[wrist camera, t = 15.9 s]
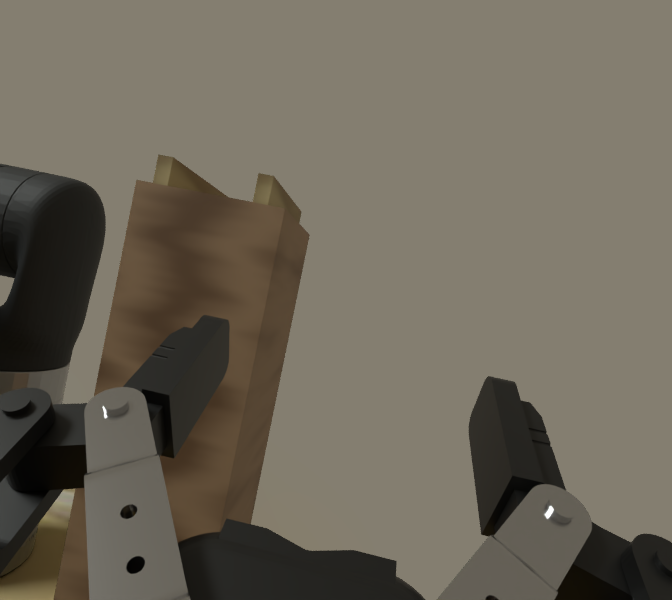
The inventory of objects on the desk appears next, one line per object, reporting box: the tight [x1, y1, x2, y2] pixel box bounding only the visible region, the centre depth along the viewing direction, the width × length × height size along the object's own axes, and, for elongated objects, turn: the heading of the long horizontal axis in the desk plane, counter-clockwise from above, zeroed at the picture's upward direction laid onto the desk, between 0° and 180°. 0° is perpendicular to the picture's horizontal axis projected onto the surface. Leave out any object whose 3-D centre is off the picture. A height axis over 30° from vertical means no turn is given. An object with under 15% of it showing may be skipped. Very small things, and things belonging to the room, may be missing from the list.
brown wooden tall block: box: [54, 155, 309, 600], centre depth 27 cm, size 9×11×34 cm
